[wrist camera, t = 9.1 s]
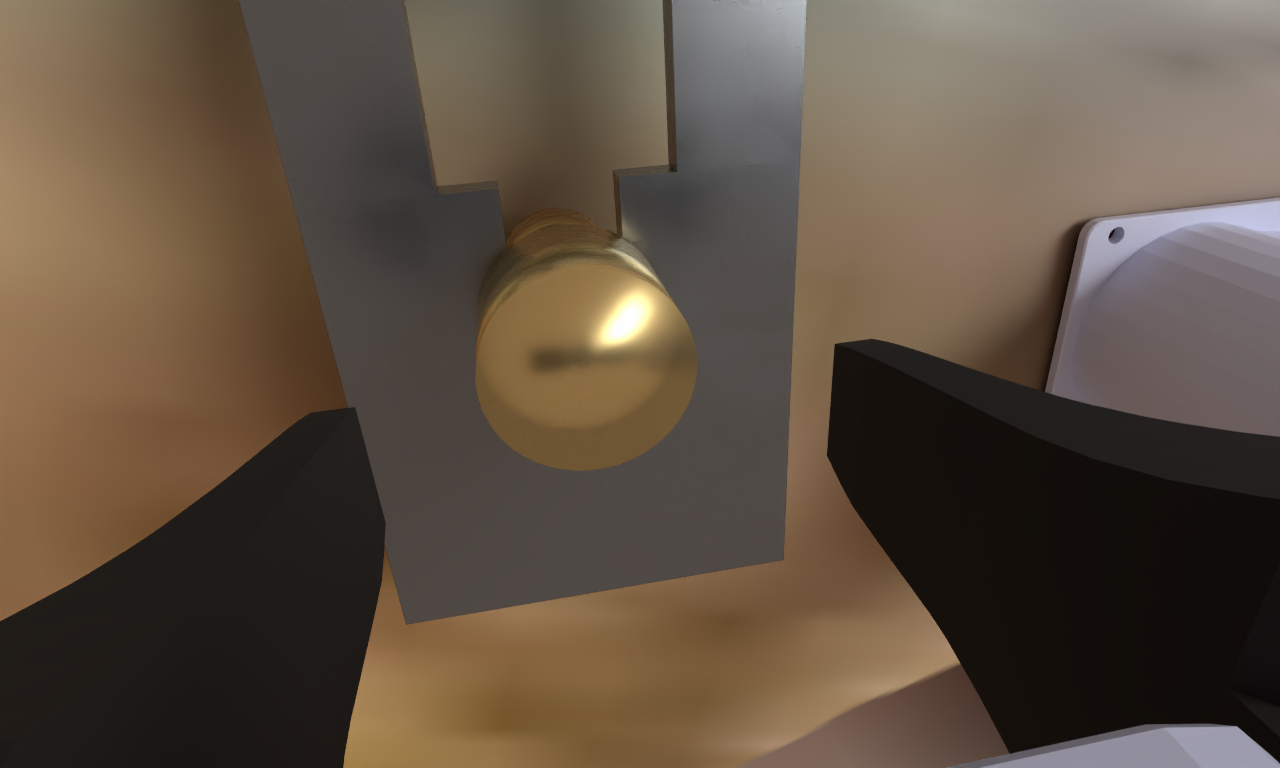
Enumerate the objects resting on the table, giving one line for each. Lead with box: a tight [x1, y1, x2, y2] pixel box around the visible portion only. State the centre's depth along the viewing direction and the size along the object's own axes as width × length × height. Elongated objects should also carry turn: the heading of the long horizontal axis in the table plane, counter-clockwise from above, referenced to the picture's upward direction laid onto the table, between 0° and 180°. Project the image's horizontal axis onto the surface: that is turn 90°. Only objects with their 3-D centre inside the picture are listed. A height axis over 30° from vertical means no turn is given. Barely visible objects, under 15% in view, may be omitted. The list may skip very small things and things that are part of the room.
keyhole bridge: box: [239, 0, 807, 625], centre depth 17 cm, size 10×20×5 cm, turn 3°
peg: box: [476, 209, 697, 471], centre depth 17 cm, size 4×4×7 cm
